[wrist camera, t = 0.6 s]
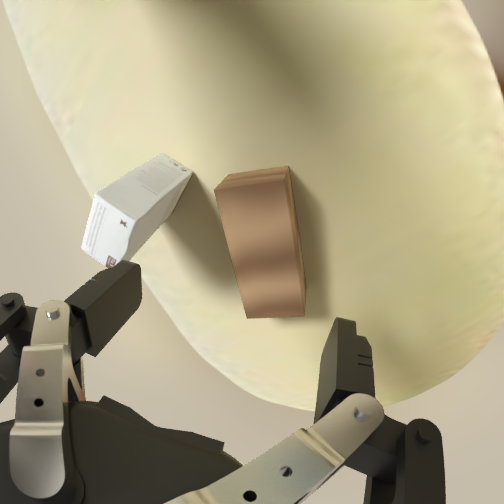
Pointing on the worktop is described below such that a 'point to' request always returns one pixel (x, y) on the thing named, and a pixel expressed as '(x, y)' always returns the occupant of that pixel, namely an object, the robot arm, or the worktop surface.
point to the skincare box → (133, 209)
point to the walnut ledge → (264, 241)
